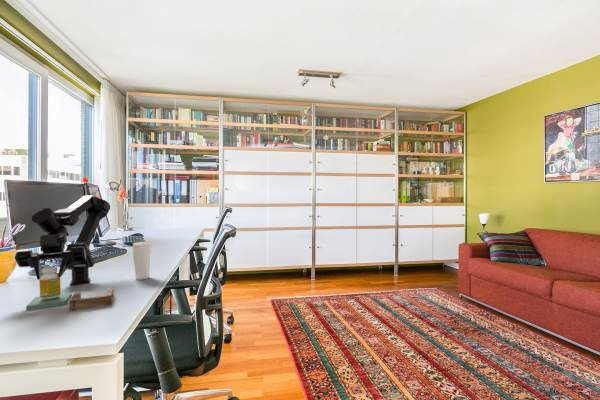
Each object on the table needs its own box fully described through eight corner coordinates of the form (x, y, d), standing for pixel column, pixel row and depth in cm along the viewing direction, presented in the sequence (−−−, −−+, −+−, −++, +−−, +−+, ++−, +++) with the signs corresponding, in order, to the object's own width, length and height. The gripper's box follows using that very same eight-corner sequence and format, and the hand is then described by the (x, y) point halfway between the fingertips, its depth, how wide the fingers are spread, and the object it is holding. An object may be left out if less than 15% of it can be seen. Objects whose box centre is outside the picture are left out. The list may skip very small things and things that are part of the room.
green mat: (35, 300, 107) (35, 297, 107) (71, 295, 112) (71, 292, 112) (26, 310, 98) (26, 306, 98) (65, 304, 103) (65, 300, 103)
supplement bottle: (49, 300, 102) (48, 270, 102) (35, 299, 103) (34, 269, 103) (64, 294, 107) (63, 266, 107) (51, 293, 108) (50, 265, 108)
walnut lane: (75, 301, 106) (75, 292, 106) (113, 295, 111) (113, 287, 111) (69, 311, 97) (69, 301, 97) (111, 305, 102) (110, 295, 102)
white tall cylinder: (137, 276, 137) (136, 242, 137) (153, 276, 137) (152, 241, 137) (130, 280, 130) (129, 244, 130) (147, 280, 131) (146, 244, 130)
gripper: (15, 227, 104) (3, 267, 94) (83, 223, 112) (79, 260, 103) (24, 247, 111) (14, 287, 101) (87, 242, 119) (84, 278, 110)
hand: (48, 277), depth 104 cm, fingers closed on supplement bottle, 5 cm apart
